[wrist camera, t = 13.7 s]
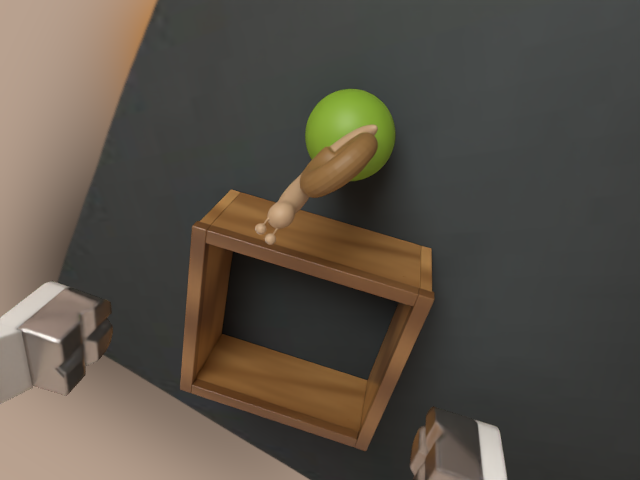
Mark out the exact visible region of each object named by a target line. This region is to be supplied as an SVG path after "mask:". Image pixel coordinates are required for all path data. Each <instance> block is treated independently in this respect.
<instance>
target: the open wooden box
mask: <svg viewBox="0 0 640 480" xmlns="http://www.w3.org/2000/svg"><path fill="white" fill-rule="evenodd" d="M274 204H275V202H272V201H269V200H265V199H262V198H259V197H255V196H252V195H248V194H245V193H241V192H238V191H235V190H230V191H229V192H228V193H227V194H226V195H225V196H224V197H223V198H222V199H221V200H220V201H219V202H218V203H217V204H216V205H215V206H214V208H213V209H212V210H211V211H210V212H209V213H208V214H207V215H206V216H205V217H204V218H203V219H202V220H201V221H197V222H196V223H195V224H194V225H193V226H192V236H191V250H190V263H189V277H188V290H187V303H186V317H185V330H184V343H183V357H182V370H181V383H180V389H181V390H184V391H187V392H190V393H192V394H195V395H198V396H201V397H204V398H207V399H210V400H213V401H216V402H219V403H222V404H225V405H228V406H231V407H234V408H238V409H241V410H244V411H247V412H250V413H253V414H256V415H259V416H262V417H265V418H268V419H271V420H274V421H277V422H280V423H283V424H286V425H289V426H292V427H295V428H298V429H301V430H304V431H307V432H310V433H313V434H316V435H319V436H322V437H325V438H328V439H331V440H334V441H337V442H340V443H343V444H346V445H349V446H352V447H355V448H358V449H361V450H364V451H366V450H367V448H368V446H369V443H370V441H371V439H372V437H373V435H374V432H375V430H376V428H377V426H378V424H379V421H380V419H381V417H382V415H383V412H384V410H385V408H386V406H387V404H388V401H389V399H390V397H391V395H392V393H393V390H394V388H395V386H396V384H397V382H398V379H399V377H400V375H401V373H402V370H403V368H404V366H405V364H406V362H407V359H408V357H409V355H410V353H411V351H412V348H413V346H414V344H415V342H416V339H417V337H418V335H419V333H420V331H421V328H422V326H423V324H424V322H425V320H426V317H427V315H428V313H429V311H430V308H431V306H432V304H433V302H434V292H432V251H431V248H427V247H424V246H420V245H417V244H414V243H410V242H407V241H404V240H400V239H397V238H394V237H390V236H387V235H383V234H380V233H377V232H373V231H370V230H367V229H363V228H360V227H356V226H353V225H350V224H346V223H343V222H340V221H336V220H333V219H329V218H326V217H323V216H319V215H316V214H313V213H309V212H306V211H302V210H299V211H298V212H297V213H296V214H295V216H294V219H293V221H292V223H291V224H290V225H289V226H287V227H285V228H281V229H278V230H277V231H276V232H275V234H274V235H275V237H276V242H275V243H274V244H272V245H269V244H267V243H266V241H265V236H266V235H267V234H273V232H274V231H275V229H276V228H274V227H272V226H271V225H270V224H269V222H268V221H267V222H266V223H265V226H266V228H267V230H266V232H265V233H264V234H262V235H260V234H258V233H257V232H256V230H255V227H256V225H257V224H259V223H262V224H263V223H264V222H265V221H266V219H267V215H268V211H269V209H270V208H271V207H272V206H273V205H274ZM233 252H237V253H240V254H243V255H246V256H250V257H253V258H256V259H260V260H263V261H266V262H269V263H273V264H276V265H279V266H282V267H286V268H289V269H292V270H295V271H299V272H302V273H305V274H308V275H312V276H315V277H318V278H322V279H325V280H328V281H331V282H335V283H338V284H341V285H344V286H348V287H351V288H354V289H357V290H361V291H364V292H367V293H370V294H374V295H377V296H380V297H383V298H387V299H390V300H393V301H397V302H399V303H398V305H397V308H396V310H395V313H394V315H393V318H392V320H391V323H390V325H389V328H388V330H387V333H386V335H385V338H384V340H383V343H382V345H381V348H380V350H379V353H378V355H377V358H376V360H375V363H374V365H373V368H372V370H371V373H370V375H369V378H368V380H365V379H362V378H358V377H355V376H352V375H349V374H346V373H343V372H340V371H337V370H333V369H330V368H327V367H324V366H321V365H318V364H315V363H312V362H309V361H305V360H302V359H299V358H296V357H293V356H290V355H287V354H284V353H281V352H277V351H274V350H271V349H268V348H265V347H262V346H259V345H256V344H252V343H249V342H246V341H243V340H240V339H237V338H234V337H231V336H228V335H224V334H222V328H223V320H224V313H225V305H226V298H227V291H228V283H229V276H230V268H231V261H232V254H233Z"/></svg>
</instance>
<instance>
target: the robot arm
mask: <svg viewBox="0 0 640 480" xmlns="http://www.w3.org/2000/svg"><path fill="white" fill-rule="evenodd" d="M111 313H112V310H111V302H109V301H107V300H105V299H102V298H100V297H97V296H94V295H91V294H88V293H86V292H83V291H80V290H77V289H74V288H72V287H68V286H65V285H62V284H59V283H57V282H54V281H51V282H48V283H45V284H43V285H42V286H41V287H39V288H38V289H37V290H35V291H34V292H33V293H32V294H30V295H29V296H28V297H26V298H25V299H24V300H22V301H21V302H20V303H19V304H17V305H16V306H15V307H14V308H12V309H11V310H9V311H8V312H7V313H6V314H4V315H3V316H2V317H1V318H0V404H1V403H3V402H5V401H7V400H9V399H11V398H13V397H15V396H17V395H19V394H21V393H23V392H25V391H27V390H29V389H31V388H33V386H35V387H39V388H42V389H45V390H48V391H51V392H55V393H58V394H61V395H64V396H67V395H68V394H69V393H70V392H71V390H72V389H73V388H74V387H75V386H76V385H77V384H78V383H79V381H81V379H82V378H83V377H84V376H85V367H86V366H87V365H90V364H92V363H94V362H97V361H98V360H99V359H100V358H101V357H102V355H103V354H104V353H105V352H106V350H107V348H108V346H109V344H110V342H111V338H112V333H113V329H112V324H111V323H110V321H109V320H108V319H107V317H108V316H109V315H110V314H111ZM410 468H411V470H412V472H413V474H414V478H413V480H507V474H506V467H505V461H504V455H503V448H502V442H501V436H500V431H499V429H498V428H497V427H496V426H493V425H490V424H487V423H484V422H481V421H477V420H474V419H472V418H469V417H466V416H462V415H459V414H456V413H453V412H450V411H446V410H443V409H440V408H437V407H434V406H433V407H432V408H431V409H430V410H429V411H428V413H427V415H426V425H424V426H422V427H420V428H419V430H418V432H417V434H416V436H415V439H414V442H413V445H412V450H411V457H410Z"/></svg>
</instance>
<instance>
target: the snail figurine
mask: <svg viewBox="0 0 640 480" xmlns="http://www.w3.org/2000/svg"><path fill="white" fill-rule="evenodd" d="M305 139H306V146H307V150H308V153H309V155H310V157H311V159H312V160H311V162H310V163H309V164H308V165H307V167H306V168H305V169H304V171H303V172H302V173H301V174H300V176H298V177H297V178H296V180H295V181H294V182H292V183H291V184H290V185H289V186H288V188H287V189H286V190H285V191H284V193H283V194H282V196H281V197H280V199H279V201H278V202H277V203H275V204H274V205H273V206H272V207H271V208H270V209H269V211H268V215H267V219H266V221H265V222H264V223H263V224H262V223H259V224H257V225H256V227H255V230H256V232H257V233H258V234H260V235H262V234H264V233H265V232H266V230H267V228H266V226H265V223H266V222H267V221H268V222H269V224H270V225H271V226H272V227H274V228H276V229H275V231H274V232H273V234H267V235H266V236H265V241H266V243H267V244H269V245H272V244H274V243H275V242H276V237H275V235H274V234H275V232H276V231H277V230H278V229H281V228H285V227H287V226H289V225H290V224H291V223H292V221H293V219H294V216H295V214H296V213H297V212H298V211H299V210H300V209H301V208H302V207H303V205H304V204H305V203H306V201H307V200H308V198H309V197H312V198H317V197H322V196H325V195H327V194H329V193H331V192H333V191H336V190H337V189H339V188H341V187H342V186H344V185H345V184H347V183H348V182H349V181H357V180H362V179H365V178H367V177H369V176H371V175H373V174H375V173H376V172H377V171H379V170H380V169H381V168H382V167H383V166H384V165H385V163H386V162H387V160H388V159H389V157H390V155H391V153H392V150H393V147H394V143H395V126H394V121H393V118H392V116H391V114H390V112H389V110H388V109H387V107H386V106H385V105H384V103H383V102H382V101H381V100H379V99H378V98H377V97H376V96H374V95H372V94H370V93H368V92H366V91H362V90H358V89H344V90H340V91H336V92H334V93H332V94H330V95H328V96H326V97H325V98H324V99H322V100H321V101H320V102H319V103H318V104H317V105H316V107H315V108H314V109H313V111H312V112H311V114H310V116H309V119H308V122H307V126H306V132H305Z"/></svg>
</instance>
